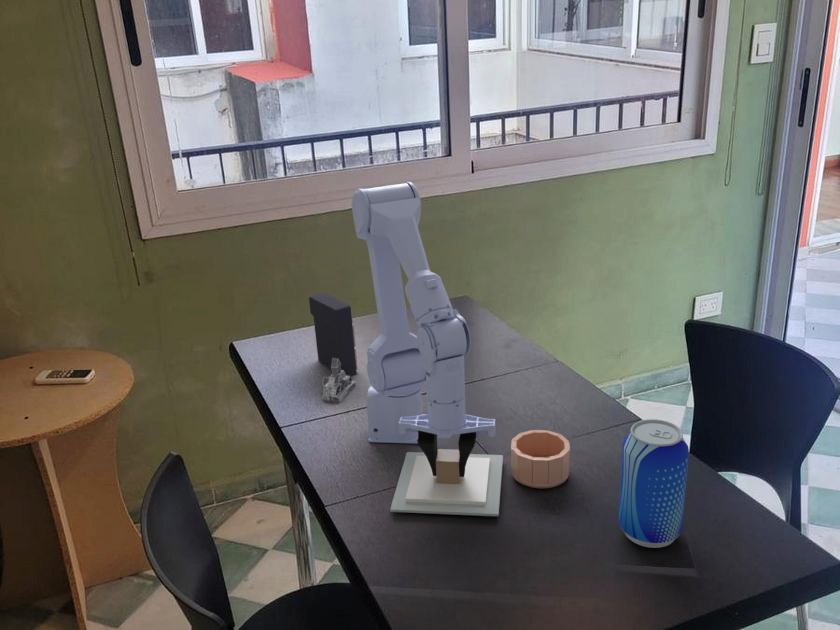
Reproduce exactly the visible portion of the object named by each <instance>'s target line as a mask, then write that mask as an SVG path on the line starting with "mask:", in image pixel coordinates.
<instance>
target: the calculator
mask: <svg viewBox="0 0 840 630" xmlns="http://www.w3.org/2000/svg"><path fill="white" fill-rule="evenodd" d="M308 297H309V298H308V301H309V310H310V311H309V312H310V314H311V316H313V324H314V332H315V333H314V334H315V342H316V350H317V351H316V353H317V361H318V362H320V363H321V364H322V365H324V366H326V367H327V368H329V369H331V370H332V368H331V364H332V358H337V359H339V361H340V363H341V365H340V367H341V370H344V372H345V374H346V375H347V376H352V375H354V374H357V373H358V372H357V370H358V356H357V350H356V348H355V347H356V336H355V326H354V325H353V324H354V321H353V312H352V306H351V305H349V304H347V303H345V302H343V301H341V300H339V299H337V298H335V297H334V296H331V295H329V294H327V293H325V292H322V293H319V294H315V295H311V296H308Z"/></svg>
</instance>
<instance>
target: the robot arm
mask: <svg viewBox="0 0 840 630" xmlns="http://www.w3.org/2000/svg"><path fill="white" fill-rule="evenodd" d="M351 210H352V217H353V218H352V219H353V224H354V231H355V233H356V238H357V239H361V240H363V241H365V242H366V246H367V251H368V255H369V256H368V257H369V262H370V263H369V264H370V269H371V276H372V283H373V290H374V297H375V304H376V310H377V317H378V324H379V331H380V334H379V336H378V337H377V338H376V339H375V340H373V342H372V343H371V344H370V345H369V346H368V347H367V349H366V350H367V351H366V356H367V365H366V368H367V369H366V371H367V375H368V380H369V384H370V386H369V388H368V390H367V395H366V396H367V397H366V415H367V425H368V442H369V443H386V444H387V443H388V444H417V445H418V447H419V448H420V450H421V451H422V453H424V454H425V455H426V457H427V459H428V461H429V464H430V466H431V469H432V473H433V476H436V458H437V453H438V439H451V438H452V437H453V436H456V435H459V438H458V444H457V445H458V450H459V456H460V467H459V474H460V477H464V475H465V466H466V463H467V460H468V457H469V455H470V454H472V451H473V450H474V447H475V444H476V441H477V440H476V439H477V435H487V437H491V438H493V437H496V418H485V417H480V416H476V415H470V414H467V413H466V386H465V385H466V383H465V358H464V357H465V356H464V354H465V355H466V354H469V352H470V350H471V347H472V338H471V332H470V328H469V326H468V323H467V322H466V319H465V318H464V317H463V316H462V315H461V314H460V312H459V310H458V309H456V308H455V309H454V308H453V306H452V303H451V301H450V298H449V296H448V295H449V294H448V293H447V290H446V288H445V285H444V282H443V281H442V277H441V276H440V275H439V274H437V273H435V272H432V271H431V269H430V265H429V261H428V259H427V256H426V255H427V254H426V252H425V248H424V244H423V241H422V238H421V234H420V230H419V226H418V225H419V223H420V221H421V212H422V201H421V195H420V192H419V190H418V188H417V186H416V185H415V184H414V183H413V182H411V181H406V182H402V183H398V184H391V185H390V184H389V185H384V186H376V187H371V188H357V189H356V190H355V192H354V194H353V197H352V201H351ZM401 268H402V269H403V272H404V273H405V275H406V277H407V280H408V281H407V283H406V284H405V287H404V285H403V279H402V278H403V277H402V271H401ZM405 295H406V297H407V298H406V299H407V301H408V303H409V306H410V309H411V311H412V313H413V318H414V319H415V322H416V325H417V328H418V330H417V335H415V334H414V333H412V332H410V329H409V327H410V326H409V320H408V313H407V307H406V300H405ZM425 383H426V385H425ZM425 386H426V387H425ZM423 388H425V389H426V404H427V405H426V406H427V407H426V408H427V414H423V404H422V403H423V402H422V389H423Z"/></svg>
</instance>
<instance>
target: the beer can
mask: <svg viewBox="0 0 840 630" xmlns="http://www.w3.org/2000/svg"><path fill="white" fill-rule="evenodd" d="M683 433H684V432H683V431H682V429H681V428H680V427H679V426H678V425H676V424H674V423H673V422H669V421H667V420H663V419H653V418H652V419H651V418H650V419H649V418H648V419H642V420H640V421H637V422H635V423H633V425H632V426H631V428H630V431H629V433H628V434H627V435H626V437H625V438H624V439H623V442H622V451H621V452H622V454H621V471H620V472H621V473H620V487H619V488H620V490H619V491H620V493H619V509H618V524H619V527H620V529H621V530H622V532H623V533H624V534H625V536H626V537H627V538H628V539H629V541H631V542H633V543H634V544H636V545H638V546H641V547H646V548H650V549H651V548H653V549H655V548H663V547H667V546H669V545H671V544H672V543H674V541H675V540H676V539H677V538H678V537H680V535H681V534H682V532H683V524H684V523H683V521H684V513H685V512H684V511H685V502H686V501H685V499H686V488H687V478H688V477H687V476H688V468H689V466H688V465H689V456H690V454H689V453H690V448H689V445H688V444H687V442H686V439H684V434H683Z"/></svg>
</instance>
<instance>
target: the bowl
mask: <svg viewBox="0 0 840 630" xmlns="http://www.w3.org/2000/svg"><path fill="white" fill-rule="evenodd" d="M510 443H511V444H510V461H511V462H510V466H511V467H510V470H511V475H512V478H513V479H514V480H515V481H517V483H519V484H521V485H522V486H526V487H528V488H534V489H550V488H555V487H558V486H560V485H562V484H564V483H565V482H566V481H567V480H568V478H569V476H570V464H571V463H570V460H571V459H570V458H571V453H570V452H571V447H570V441H569V440H568V439H567V438H566V437H565V436H563V435H562V434H561V433H558V432H555V431H551V430H547V429H545V430H544V429H543V430H542V429H531V430H528V431H527V430H526V431H523V432H520V433H518V434H517V435H515V436H514V437H513V438H512V439H511V442H510Z"/></svg>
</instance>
